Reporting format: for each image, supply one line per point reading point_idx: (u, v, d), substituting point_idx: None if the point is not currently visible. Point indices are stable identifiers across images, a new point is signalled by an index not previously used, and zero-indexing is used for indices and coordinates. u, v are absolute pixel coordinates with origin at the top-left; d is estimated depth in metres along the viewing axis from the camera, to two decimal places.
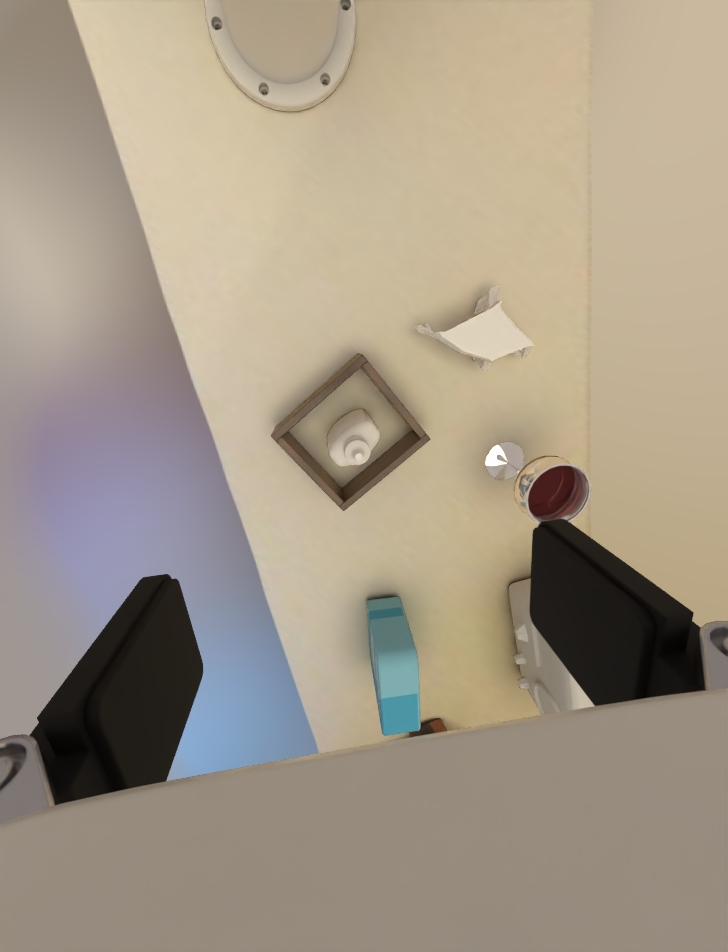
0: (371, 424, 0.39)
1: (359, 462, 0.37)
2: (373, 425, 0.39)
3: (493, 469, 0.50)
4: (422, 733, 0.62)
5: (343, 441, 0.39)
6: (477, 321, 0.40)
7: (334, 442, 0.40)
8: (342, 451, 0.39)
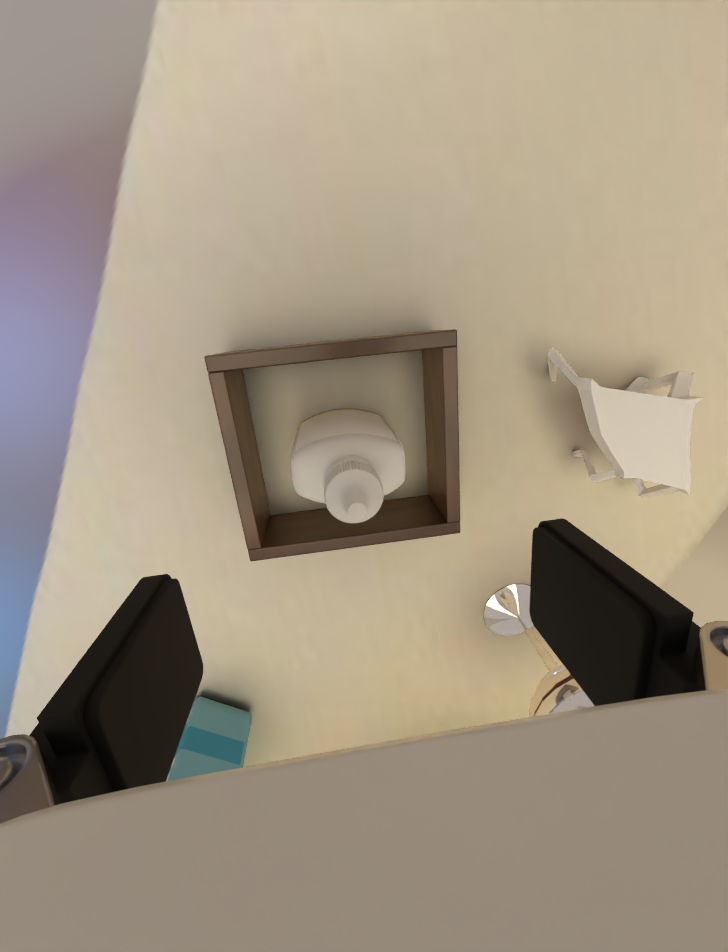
0: (402, 456, 0.19)
1: (345, 517, 0.16)
2: (404, 460, 0.19)
3: (494, 613, 0.32)
4: None
5: (335, 454, 0.18)
6: (651, 404, 0.22)
7: (316, 444, 0.18)
8: (321, 471, 0.18)
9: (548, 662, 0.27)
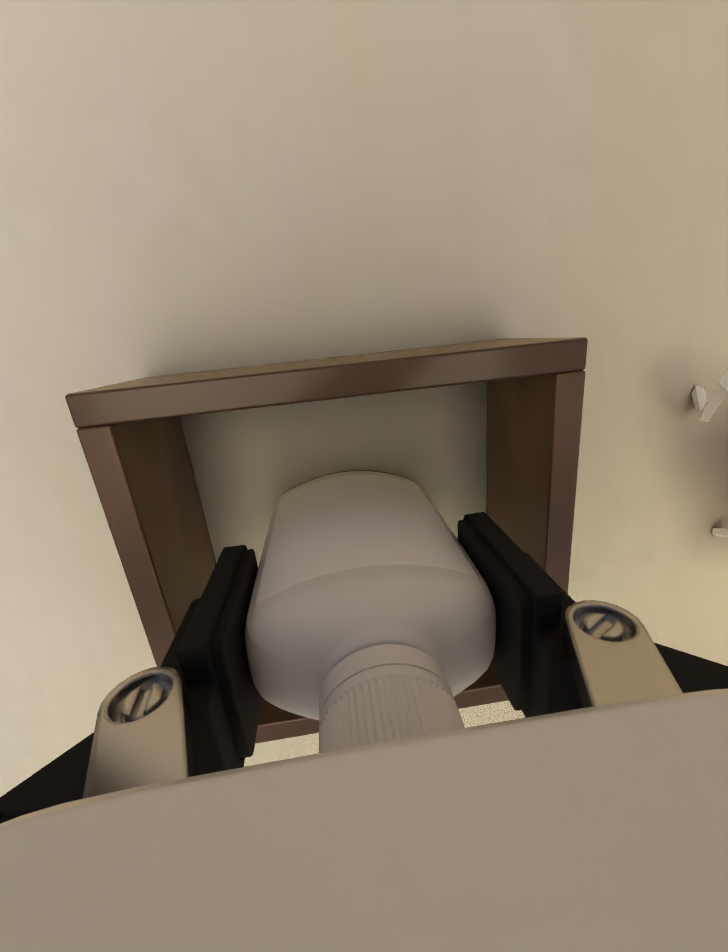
0: (493, 617, 0.09)
1: None
2: (494, 622, 0.09)
3: None
4: None
5: (347, 635, 0.07)
6: None
7: (301, 599, 0.08)
8: (313, 670, 0.08)
9: None
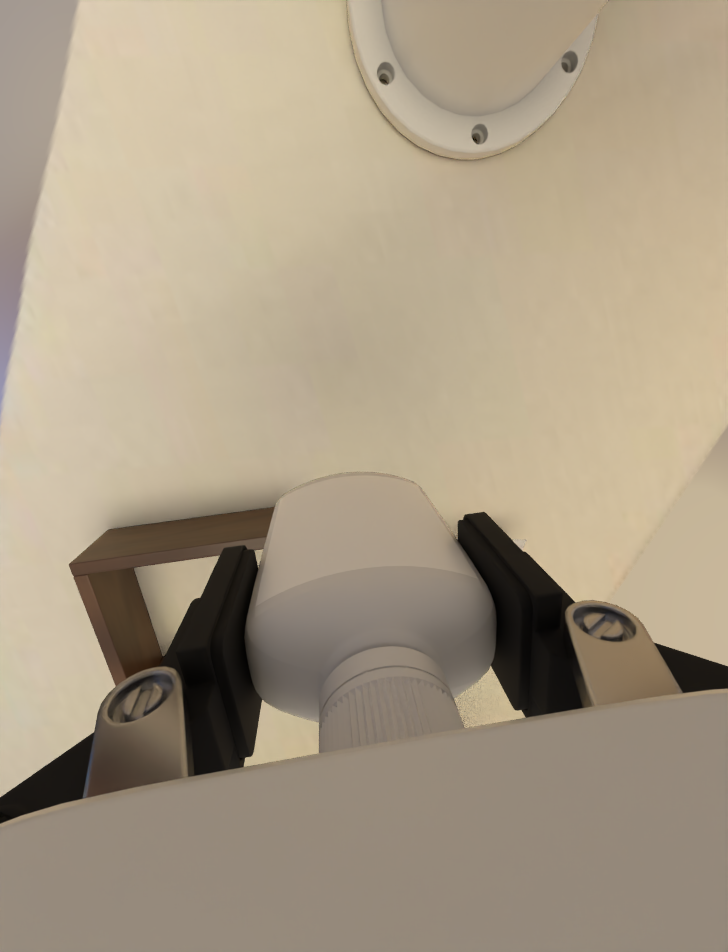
0: (493, 618, 0.09)
1: None
2: (495, 623, 0.09)
3: None
4: None
5: (347, 637, 0.07)
6: None
7: (301, 601, 0.08)
8: (313, 672, 0.08)
9: None
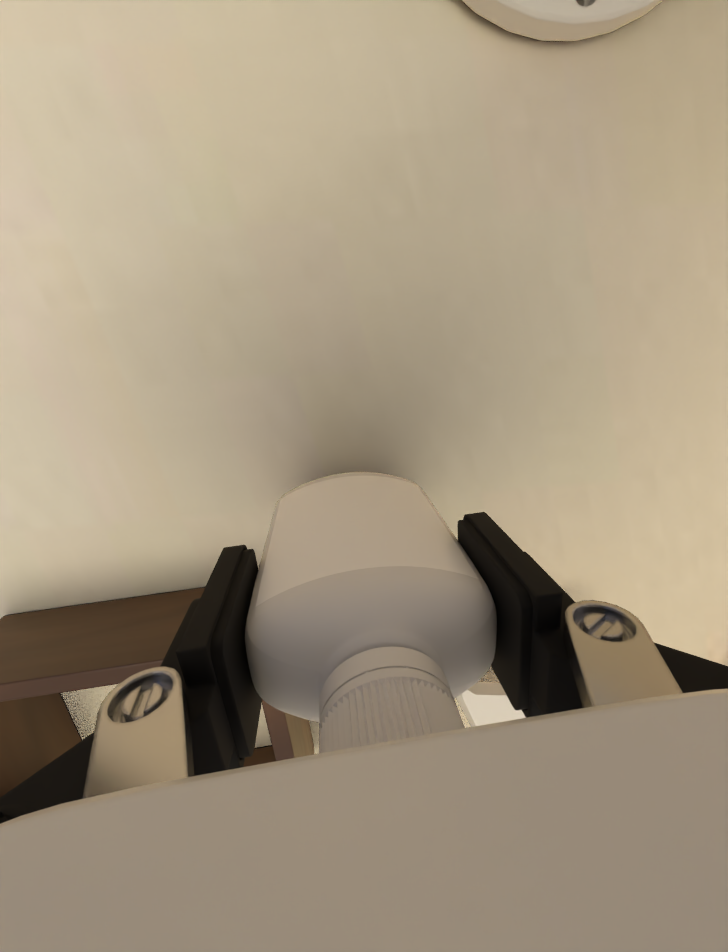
0: (493, 618, 0.09)
1: None
2: (495, 624, 0.09)
3: None
4: None
5: (347, 637, 0.07)
6: None
7: (301, 601, 0.08)
8: (313, 673, 0.08)
9: None
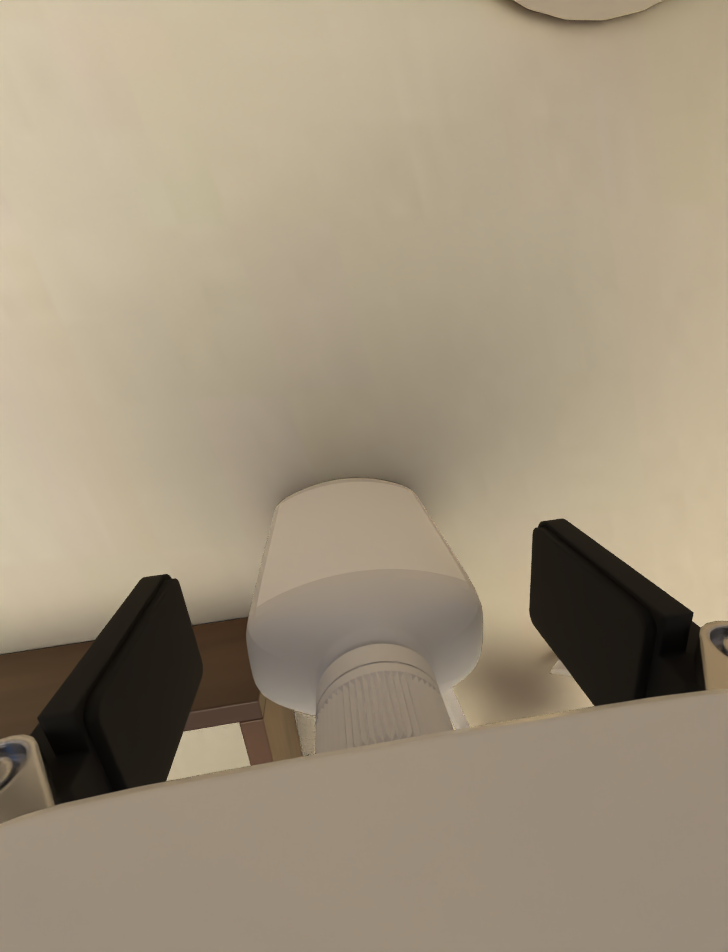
0: (479, 618, 0.09)
1: None
2: (481, 623, 0.09)
3: None
4: None
5: (342, 635, 0.08)
6: None
7: (299, 602, 0.09)
8: (310, 668, 0.08)
9: None
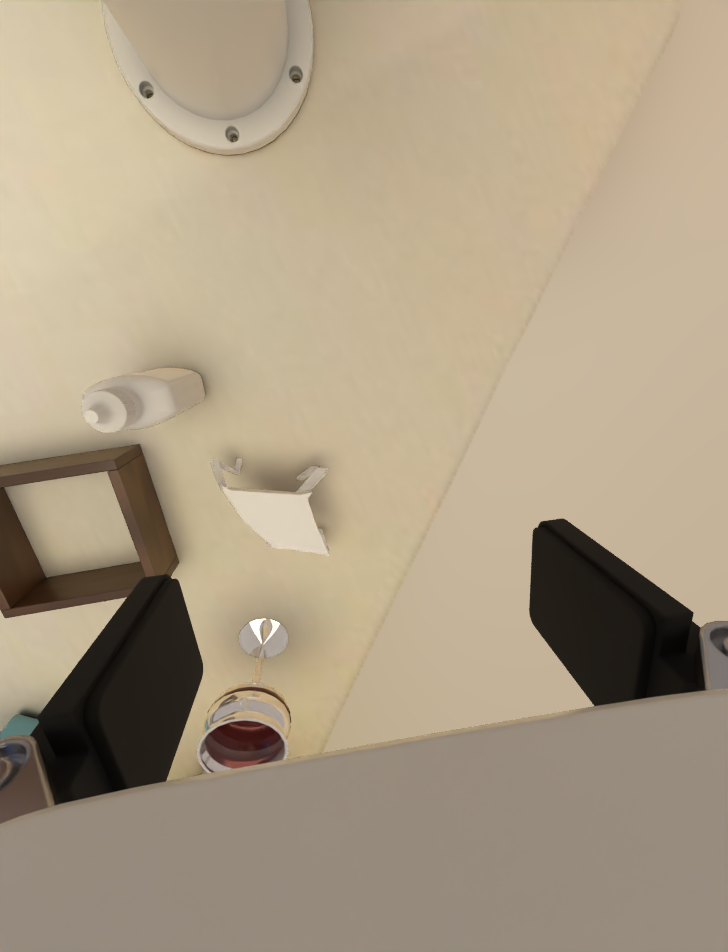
0: (166, 390, 0.25)
1: (99, 427, 0.23)
2: (169, 393, 0.26)
3: (245, 641, 0.41)
4: None
5: (107, 387, 0.24)
6: (274, 499, 0.31)
7: None
8: None
9: (252, 681, 0.36)
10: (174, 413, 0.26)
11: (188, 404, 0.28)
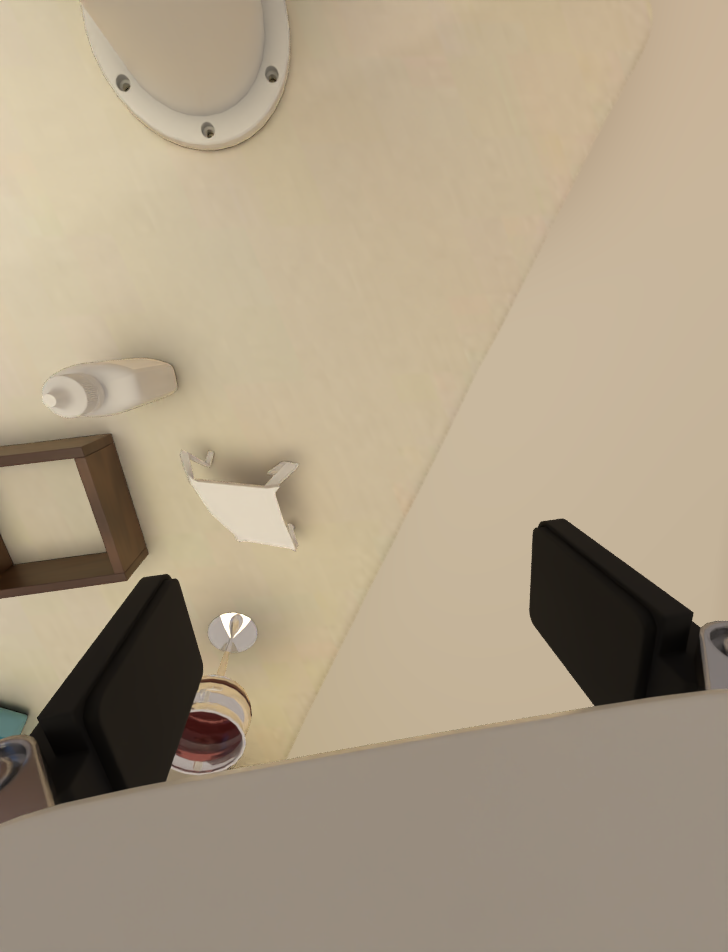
0: (132, 378, 0.26)
1: (59, 412, 0.23)
2: (135, 382, 0.26)
3: (214, 635, 0.41)
4: None
5: None
6: (241, 492, 0.31)
7: (64, 368, 0.25)
8: None
9: (216, 674, 0.36)
10: (139, 402, 0.26)
11: (156, 394, 0.29)
